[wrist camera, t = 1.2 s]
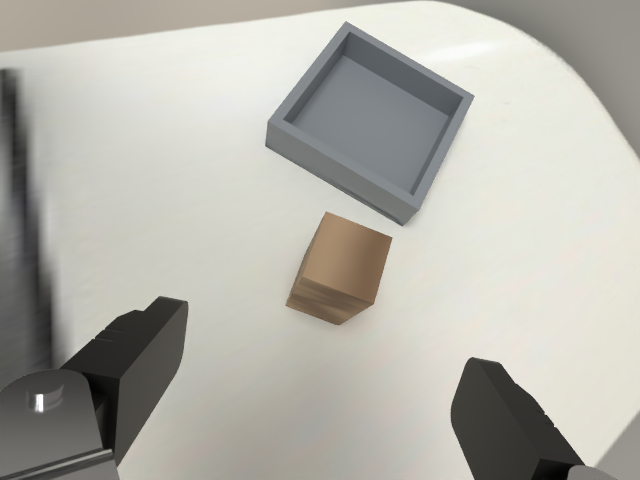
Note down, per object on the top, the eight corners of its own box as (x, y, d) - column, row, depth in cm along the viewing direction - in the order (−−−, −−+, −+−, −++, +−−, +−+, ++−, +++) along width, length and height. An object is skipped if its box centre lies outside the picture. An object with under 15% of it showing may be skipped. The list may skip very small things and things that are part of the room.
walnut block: (285, 305, 34) (301, 276, 25) (304, 255, 36) (326, 211, 27) (338, 325, 35) (373, 304, 25) (354, 274, 37) (392, 237, 27)
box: (265, 145, 39) (267, 121, 36) (337, 50, 46) (345, 21, 42) (402, 226, 39) (418, 209, 36) (455, 119, 45) (474, 95, 42)
